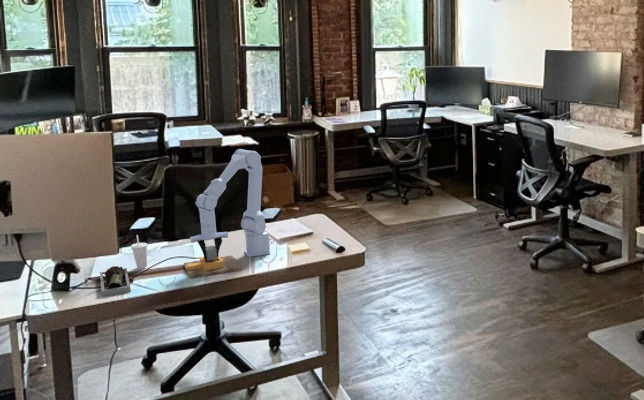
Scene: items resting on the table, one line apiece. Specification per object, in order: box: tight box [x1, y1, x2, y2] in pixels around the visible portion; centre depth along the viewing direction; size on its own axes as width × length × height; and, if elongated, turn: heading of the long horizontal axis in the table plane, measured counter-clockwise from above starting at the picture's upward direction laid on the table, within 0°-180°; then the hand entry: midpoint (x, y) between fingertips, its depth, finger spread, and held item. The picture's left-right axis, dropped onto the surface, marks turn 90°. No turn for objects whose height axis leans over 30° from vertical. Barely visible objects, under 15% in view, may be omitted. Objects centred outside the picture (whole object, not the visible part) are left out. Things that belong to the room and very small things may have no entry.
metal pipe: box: [104, 265, 125, 289], centre depth 240 cm, size 18×7×6 cm, turn 13°
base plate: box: [183, 254, 242, 279], centre depth 253 cm, size 20×16×1 cm
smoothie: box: [130, 234, 149, 270], centre depth 255 cm, size 6×6×14 cm
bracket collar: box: [187, 254, 224, 270], centre depth 252 cm, size 13×9×2 cm, turn 110°
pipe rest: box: [99, 267, 132, 297], centre depth 240 cm, size 10×21×2 cm, turn 20°
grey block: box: [205, 245, 217, 263], centre depth 253 cm, size 4×5×6 cm
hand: (211, 257), depth 252 cm, fingers closed on grey block, 4 cm apart
